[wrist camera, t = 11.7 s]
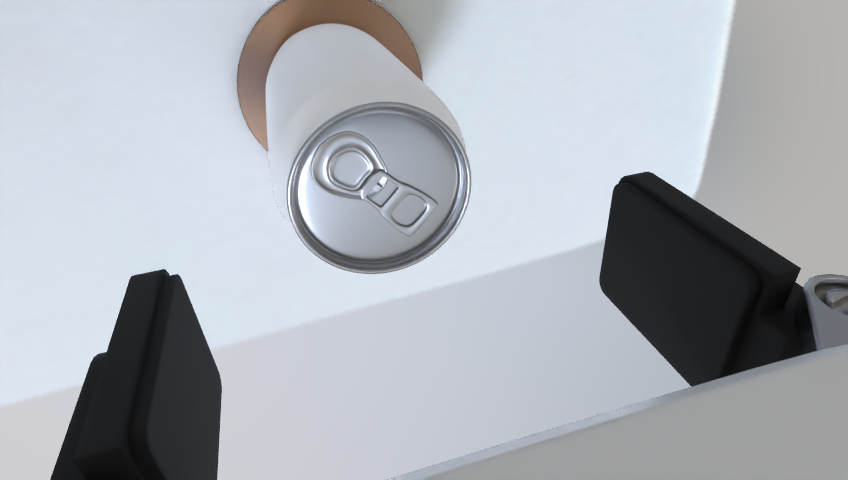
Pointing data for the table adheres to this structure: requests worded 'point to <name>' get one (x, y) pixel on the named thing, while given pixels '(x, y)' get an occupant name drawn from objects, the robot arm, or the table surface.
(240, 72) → the coaster
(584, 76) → the table surface
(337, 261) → the can
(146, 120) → the table surface
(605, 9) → the table surface
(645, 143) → the table surface
